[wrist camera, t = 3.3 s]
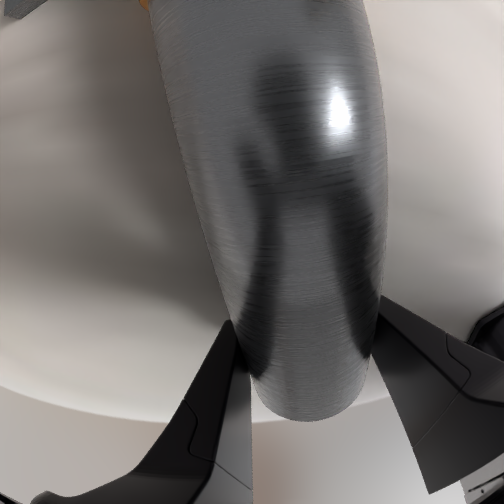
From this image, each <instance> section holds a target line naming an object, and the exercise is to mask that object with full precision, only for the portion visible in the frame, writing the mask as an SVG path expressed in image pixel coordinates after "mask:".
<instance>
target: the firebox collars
mask: <svg viewBox="0 0 504 504" xmlns="http://www.w3.org/2000/svg"><path fill="white" fill-rule="evenodd" d="M45 1H47V0H5V11H4V16H9V17H13V18H18V19H22V18H23V17H24V16H26V15H27V14H28V13H30V12H31V11H32V10H34V9H35V8H36V7H38V6H39V5H41V4H42V3H44V2H45Z"/></svg>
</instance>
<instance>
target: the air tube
mask: <svg viewBox="0 0 504 504" xmlns="http://www.w3.org/2000/svg"><path fill="white" fill-rule="evenodd" d="M139 2H140V4H141V6H142V7H143V8H144V9H146V10H147V11H149V14H150V20H151V25H152V30H153V35H154V40H155V45H156V50H157V55H158V60H159V64H160V69H161V73H162V78H163V82H164V87H165V91H166V95H167V100H168V104H169V108H170V112H171V116H172V120H173V124H174V128H175V132H176V136H177V140H178V144H179V148H180V152H181V156H182V159H183V163H184V167H185V170H186V174H187V178H188V181H189V185H190V189H191V192H192V196H193V199H194V203H195V206H196V210H197V213H198V217H199V220H200V223H201V227H202V230H203V233H204V237H205V240H206V243H207V247H208V250H209V253H210V256H211V260H212V263H213V266H214V269H215V272H216V275H217V278H218V282H219V285H220V288H221V291H222V294H223V297H224V300H225V303H226V306H227V309H228V312H229V315H230V318H231V321H232V324H233V327H234V330H235V333H236V335H237V338H238V341H239V344H240V347H241V350H242V353H243V355H244V358H245V361H246V364H247V366H248V369H249V372H250V375H251V377H252V380H253V383H254V385H255V388H256V391H257V393H258V396H259V397H260V399H261V401H262V402H263V403H264V404H265V405H266V407H268V408H269V409H270V410H271V411H272V412H274V413H276V414H277V415H279V416H282V417H284V418H287V419H290V420H295V421H304V422H309V421H318V420H323V419H326V418H329V417H332V416H334V415H336V414H338V413H340V412H341V411H343V410H344V409H346V408H347V407H348V406H349V405H350V404H352V402H353V401H354V400H355V399H356V398H357V396H358V395H359V393H360V391H361V389H362V387H363V384H364V380H365V376H366V372H367V367H368V363H369V359H370V354H371V349H372V344H373V339H374V334H375V328H376V322H377V316H378V310H379V303H380V296H381V288H382V280H383V270H384V260H385V248H386V232H387V207H388V170H387V145H386V130H385V118H384V108H383V99H382V91H381V84H380V77H379V71H378V65H377V59H376V54H375V49H374V44H373V39H372V35H371V31H370V26H369V22H368V18H367V15H366V11H365V7H364V4H363V0H139Z"/></svg>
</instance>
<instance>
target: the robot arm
mask: <svg viewBox="0 0 504 504" xmlns="http://www.w3.org/2000/svg"><path fill="white" fill-rule="evenodd" d="M371 354H372V356H373V358H374V360H375V363H376V365H377V367H378V369H379V371H380V373H381V375H382V378H383V380H384V382H385V384H386V386H387V389H388V391H389V393H390V395H391V398H392V400H393V402H394V404H395V407H396V409H397V412H398V414H399V416H400V419H401V421H402V423H403V426H404V428H405V431H406V433H407V436H408V438H409V441H410V443H411V446H412V447H413V452H414V454H415V457H416V459H417V462H418V465H419V468H420V470H421V473H422V476H423V479H424V482H425V485H426V488H427V491H428V493H429V494H432V493H434V492H436V491H438V490H440V489H443V488H445V487H447V486H449V485H451V484H453V483H455V482H457V481H458V480H460V482H461V484H462V487H463V490H464V493H465V500H466V503H467V504H504V307H503V308H501V309H499V310H498V311H496V312H494V313H492V314H491V315H489V316H487V317H485V318H484V319H482V320H481V321H480V322H479V323H478V324H477V325H476V327H475V329H474V331H473V333H472V336H471V338H470V340H469V342H468V344H466V343H464V342H462V341H460V340H459V339H457V338H455V337H453V336H452V335H450V334H448V333H446V332H445V331H443V330H442V329H440V328H438V327H436V326H435V325H433V324H431V323H430V322H428V321H426V320H424V319H423V318H421V317H419V316H418V315H416V314H414V313H412V312H411V311H409V310H407V309H405V308H404V307H402V306H400V305H398V304H397V303H395V302H393V301H391V300H390V299H388V298H386V297H384V296H383V295H381V296H380V303H379V310H378V316H377V322H376V328H375V334H374V339H373V344H372V349H371ZM251 431H252V430H251V381H250V372H249V369H248V366H247V364H246V361H245V358H244V355H243V353H242V350H241V347H240V344H239V341H238V338H237V335H236V333H235V330H234V327H233V324H232V321H231V319H229V320H226V321H225V323H224V324H223V326H222V328H221V330H220V332H219V334H218V336H217V337H216V339H215V341H214V343H213V345H212V347H211V348H210V350H209V352H208V354H207V356H206V358H205V360H204V361H203V363H202V365H201V367H200V369H199V371H198V372H197V374H196V376H195V378H194V380H193V382H192V383H191V385H190V387H189V389H188V391H187V393H186V394H185V396H184V399H183V400H182V401H181V403H180V405H179V407H178V409H177V410H176V412H175V414H174V416H173V417H172V419H171V421H170V422H169V424H168V425H167V426H166V428H165V429H164V431H163V432H162V434H161V435H160V436H159V438H158V439H157V441H156V442H155V443H154V445H153V446H152V447H151V449H150V450H149V451H148V453H147V454H146V455H145V457H144V458H143V459H142V460H141V462H140V463H139V464H138V465H137V466H136V467H135V468H134V469H133V470H132V471H130V472H129V473H128V474H126V475H124V476H122V477H120V478H118V479H116V480H114V481H111V482H110V483H107V484H105V485H103V486H100V487H98V488H96V489H93V490H91V491H89V492H86V493H84V494H81V495H78V496H73V497H63V496H59V495H57V494H55V493H52V492H50V491H45V492H43V493H41V494H39V495H37V496H36V497H35V498H34V499H33V500H32V501H31V503H30V504H253V491H252V490H253V486H252V485H253V484H252V434H251V433H252V432H251ZM0 504H22V503H20V502H18V501H16V500H14V499H12V498H10V497H8V496H6V495H4V494H2V493H0Z"/></svg>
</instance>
